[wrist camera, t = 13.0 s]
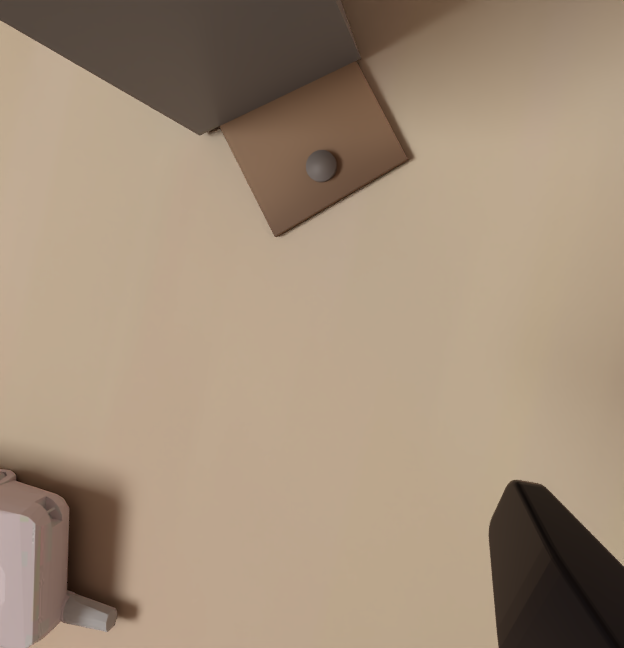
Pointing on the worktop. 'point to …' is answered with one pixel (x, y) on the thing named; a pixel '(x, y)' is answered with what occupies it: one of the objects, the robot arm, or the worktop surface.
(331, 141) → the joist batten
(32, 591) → the mobile phone
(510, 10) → the worktop surface
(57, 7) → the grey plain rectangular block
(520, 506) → the robot arm
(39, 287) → the worktop surface
